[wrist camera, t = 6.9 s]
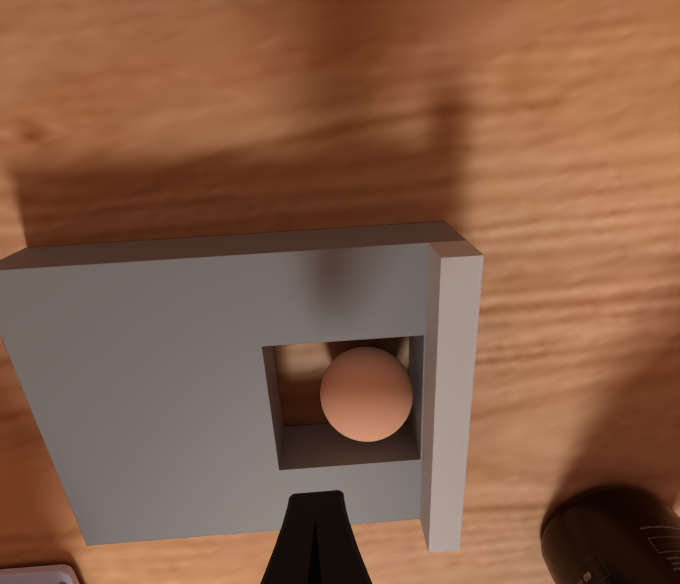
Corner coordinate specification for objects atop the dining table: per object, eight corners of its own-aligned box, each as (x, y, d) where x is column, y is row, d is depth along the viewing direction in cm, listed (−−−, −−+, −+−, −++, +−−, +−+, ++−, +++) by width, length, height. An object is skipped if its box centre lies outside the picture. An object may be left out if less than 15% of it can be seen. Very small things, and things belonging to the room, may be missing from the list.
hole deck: (433, 470, 20) (459, 550, 17) (113, 495, 20) (67, 582, 16) (444, 221, 16) (483, 255, 12) (26, 247, 15) (-67, 290, 12)
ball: (426, 440, 17) (350, 477, 15) (373, 389, 19) (303, 416, 18) (438, 365, 15) (355, 398, 13) (379, 321, 18) (303, 344, 16)
